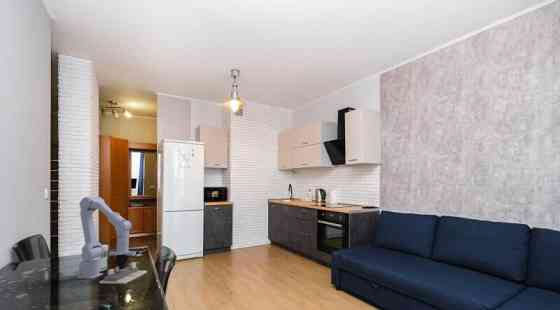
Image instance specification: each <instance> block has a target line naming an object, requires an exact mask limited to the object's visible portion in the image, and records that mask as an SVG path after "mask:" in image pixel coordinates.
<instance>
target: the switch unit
mask: <svg viewBox="0 0 560 310" xmlns="http://www.w3.org/2000/svg"><path fill="white" fill-rule="evenodd" d="M147 273H148V270H139V266H138V267H137V266H136V267H135V268H133V269H130V266H126V267H124V269H122V270H121V271H119V272H116V271H114V274H112V275H108V274H107V275H106V276H104V277H103V279H102V280H99V284H115V285H116V284H117V285H118V284H120V285H122V284H123V285H125V284H127V283H129V282H131V281H133V280H135V279H137V278H138V277H141V276H142V275H145V274H147Z"/></svg>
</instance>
